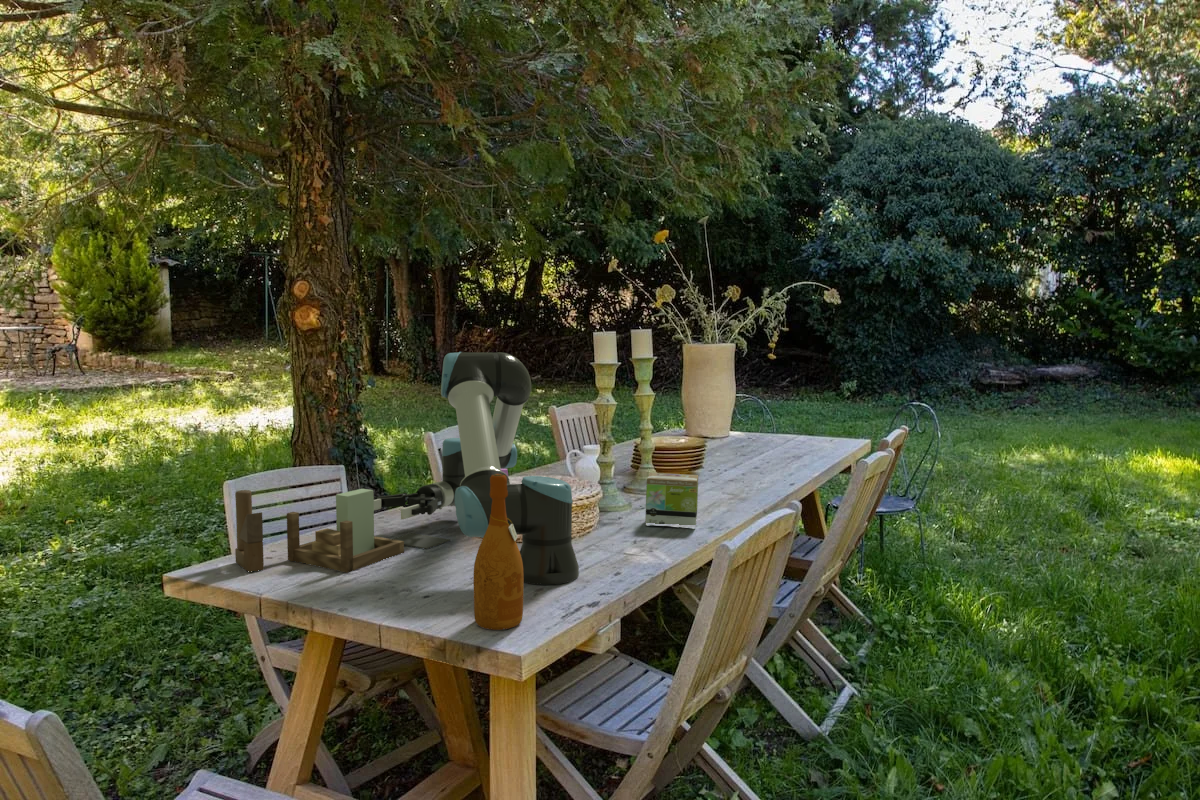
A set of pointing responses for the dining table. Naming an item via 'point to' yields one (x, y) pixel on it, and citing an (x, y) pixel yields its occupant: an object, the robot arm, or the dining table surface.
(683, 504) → the tea box
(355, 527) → the sage block
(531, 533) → the robot arm
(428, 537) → the felt mat
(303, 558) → the rack
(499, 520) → the wine bottle
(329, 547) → the oak offcut
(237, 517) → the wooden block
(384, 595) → the dining table surface
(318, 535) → the walnut offcut
